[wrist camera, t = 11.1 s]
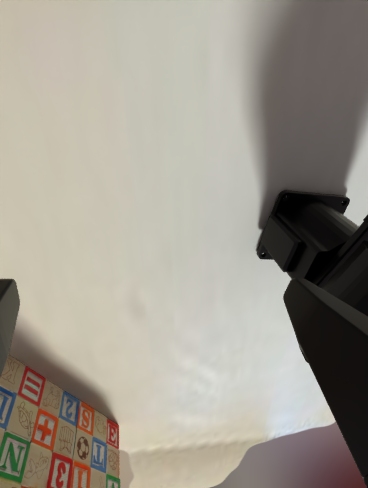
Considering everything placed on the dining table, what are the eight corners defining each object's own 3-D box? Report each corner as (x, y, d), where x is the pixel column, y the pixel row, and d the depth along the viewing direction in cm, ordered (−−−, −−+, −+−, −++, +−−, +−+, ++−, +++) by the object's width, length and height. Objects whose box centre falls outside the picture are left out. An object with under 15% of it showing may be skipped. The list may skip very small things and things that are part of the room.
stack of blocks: (120, 423, 39) (121, 551, 29) (81, 439, 39) (69, 571, 29) (2, 349, 26) (-68, 530, 16) (-53, 374, 27) (-153, 565, 17)
